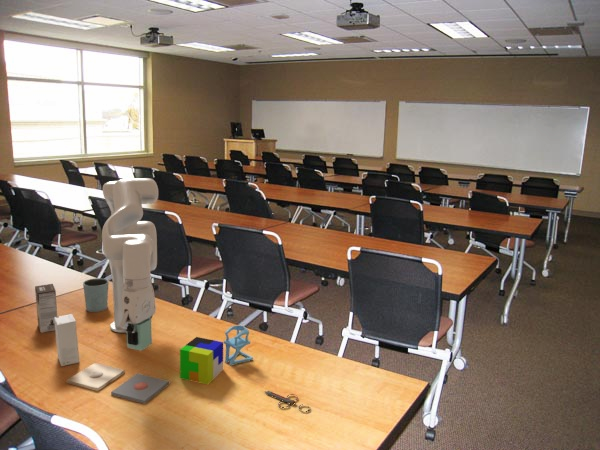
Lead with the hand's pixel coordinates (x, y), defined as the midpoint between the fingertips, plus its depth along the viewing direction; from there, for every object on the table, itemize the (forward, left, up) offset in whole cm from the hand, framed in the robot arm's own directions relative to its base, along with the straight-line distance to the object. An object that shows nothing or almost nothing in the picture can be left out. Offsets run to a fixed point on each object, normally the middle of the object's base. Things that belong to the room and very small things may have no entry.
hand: (139, 339), depth 144 cm
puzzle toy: (-16, +12, -17) cm, 26 cm away
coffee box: (-23, -61, -17) cm, 67 cm away
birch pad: (0, -17, -16) cm, 24 cm away
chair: (-29, +18, -17) cm, 38 cm away
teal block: (0, 0, -2) cm, 2 cm away
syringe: (-12, +42, -17) cm, 47 cm away
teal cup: (-46, -58, -17) cm, 76 cm away
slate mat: (0, 0, -16) cm, 16 cm away
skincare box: (-6, -34, -17) cm, 38 cm away
